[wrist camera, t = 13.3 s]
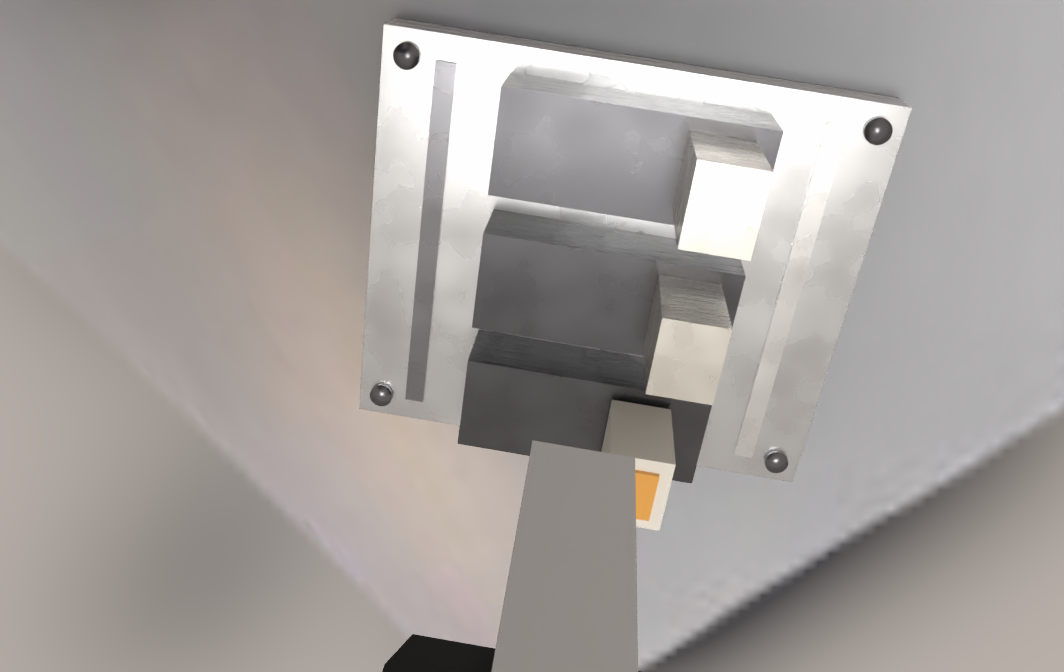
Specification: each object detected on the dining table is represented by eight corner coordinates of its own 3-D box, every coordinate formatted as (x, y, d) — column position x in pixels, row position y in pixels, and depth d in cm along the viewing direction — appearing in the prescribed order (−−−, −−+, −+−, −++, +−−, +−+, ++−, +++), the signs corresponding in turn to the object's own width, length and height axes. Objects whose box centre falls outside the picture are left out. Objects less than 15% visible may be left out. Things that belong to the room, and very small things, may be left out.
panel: (370, 387, 44) (311, 498, 36) (396, 18, 36) (329, 51, 28) (785, 457, 43) (821, 586, 35) (897, 97, 36) (976, 154, 28)
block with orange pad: (599, 461, 38) (596, 523, 34) (611, 399, 37) (610, 456, 33) (656, 470, 38) (659, 533, 34) (671, 409, 37) (675, 468, 33)
